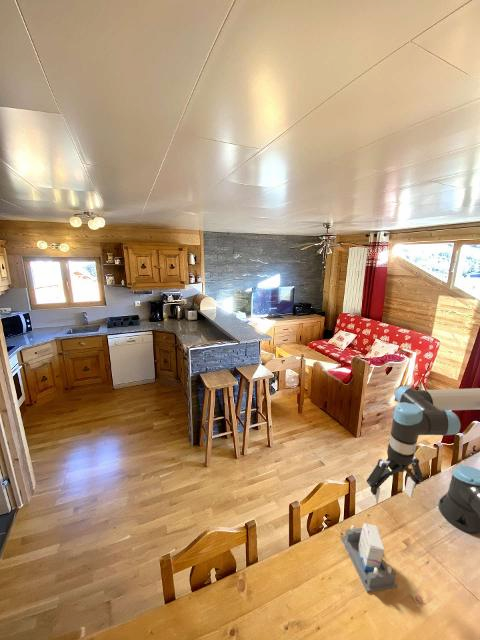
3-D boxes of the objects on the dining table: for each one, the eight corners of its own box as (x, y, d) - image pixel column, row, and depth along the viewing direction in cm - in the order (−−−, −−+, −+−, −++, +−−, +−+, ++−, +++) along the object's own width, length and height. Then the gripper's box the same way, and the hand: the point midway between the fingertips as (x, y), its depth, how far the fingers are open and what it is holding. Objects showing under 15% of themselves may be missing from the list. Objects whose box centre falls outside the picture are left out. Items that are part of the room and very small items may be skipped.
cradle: (366, 534, 105) (369, 520, 103) (396, 587, 89) (401, 571, 87) (341, 538, 103) (343, 523, 101) (367, 592, 87) (370, 576, 85)
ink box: (379, 574, 91) (385, 549, 88) (364, 571, 92) (369, 547, 89) (371, 548, 100) (376, 524, 97) (357, 545, 100) (362, 522, 97)
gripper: (424, 435, 94) (414, 483, 99) (360, 443, 90) (353, 492, 95) (443, 451, 87) (430, 501, 92) (374, 460, 83) (366, 512, 88)
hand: (391, 497), depth 94 cm, fingers open, 13 cm apart
